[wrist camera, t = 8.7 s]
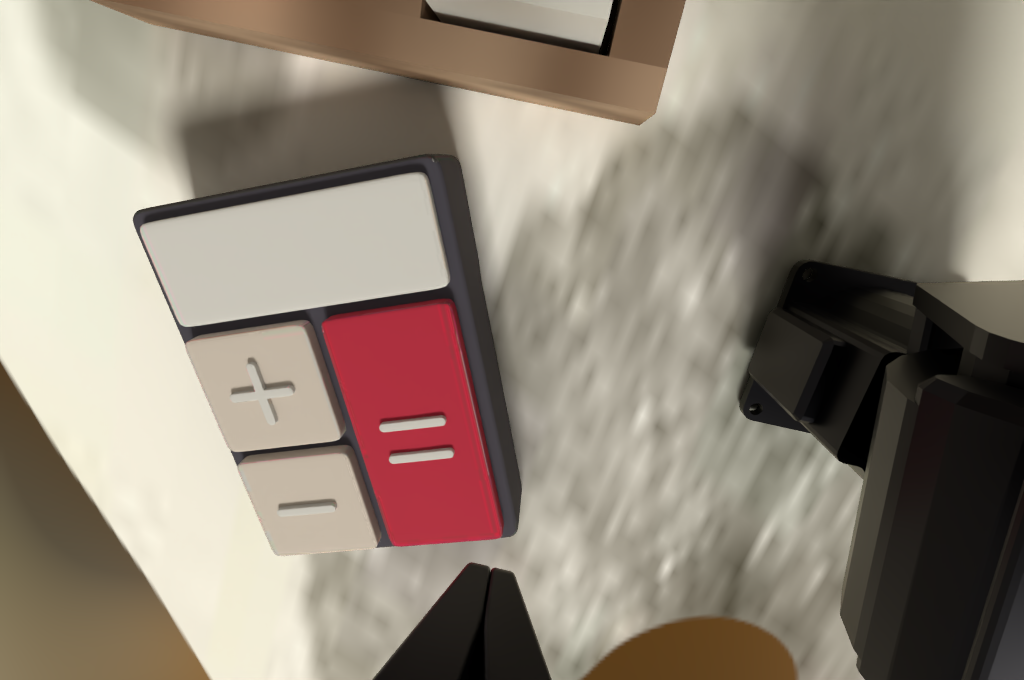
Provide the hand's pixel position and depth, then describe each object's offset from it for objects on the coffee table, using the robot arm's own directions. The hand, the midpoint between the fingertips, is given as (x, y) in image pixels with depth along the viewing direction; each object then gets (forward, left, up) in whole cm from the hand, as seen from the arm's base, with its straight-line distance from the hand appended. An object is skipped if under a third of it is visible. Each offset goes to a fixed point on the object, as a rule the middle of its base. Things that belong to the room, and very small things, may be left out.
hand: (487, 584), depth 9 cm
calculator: (+7, +2, -13) cm, 14 cm away
